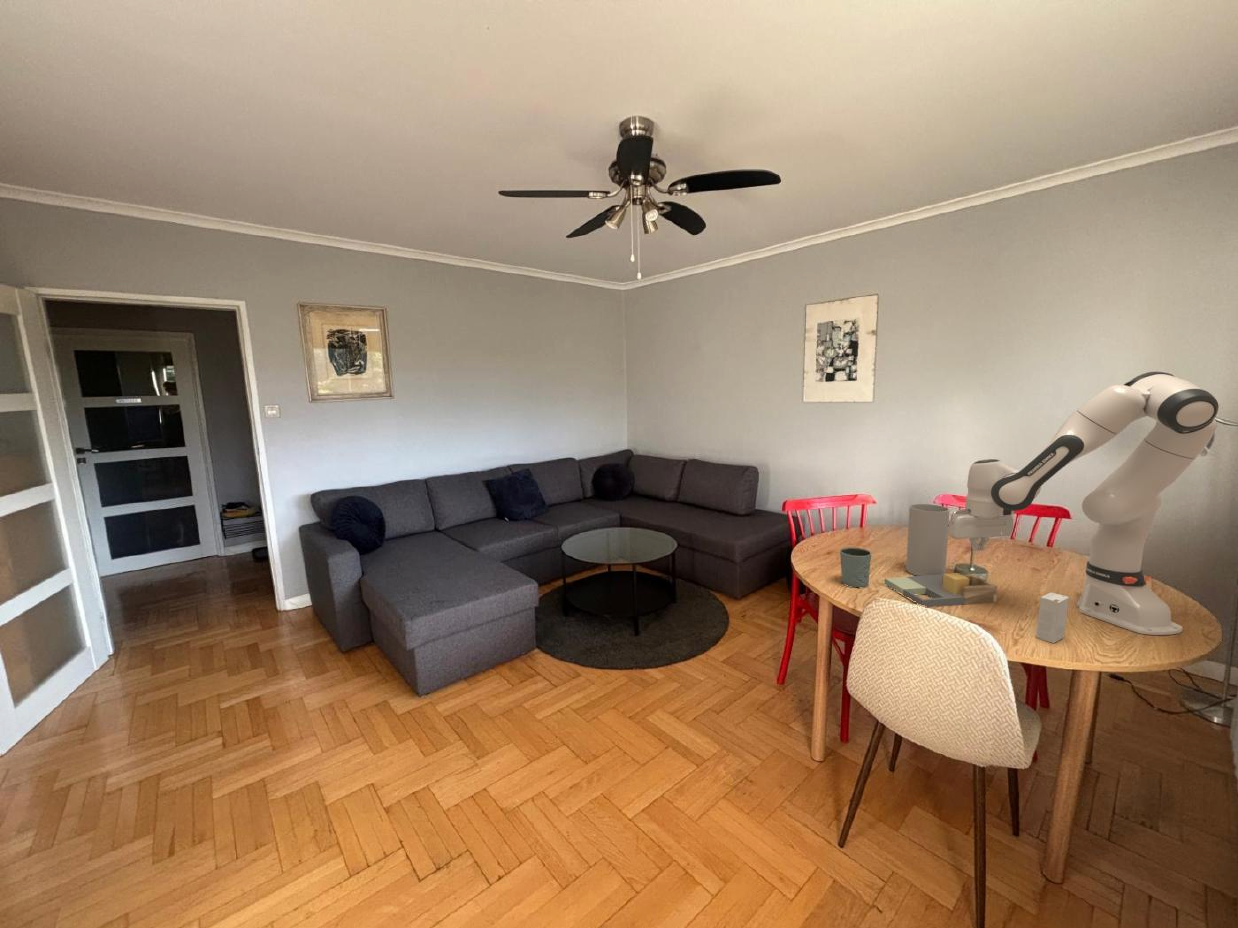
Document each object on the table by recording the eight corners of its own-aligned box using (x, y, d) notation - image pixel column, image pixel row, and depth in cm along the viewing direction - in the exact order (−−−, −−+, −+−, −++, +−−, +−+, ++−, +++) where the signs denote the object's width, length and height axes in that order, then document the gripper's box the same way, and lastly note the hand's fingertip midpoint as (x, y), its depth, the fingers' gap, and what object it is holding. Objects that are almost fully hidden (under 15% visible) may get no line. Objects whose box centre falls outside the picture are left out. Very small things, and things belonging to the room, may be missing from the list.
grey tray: (996, 601, 159) (996, 594, 159) (921, 607, 157) (922, 600, 156) (951, 579, 178) (951, 573, 177) (884, 584, 175) (884, 578, 175)
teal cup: (873, 589, 172) (875, 556, 170) (842, 588, 174) (843, 555, 172) (865, 578, 181) (866, 547, 180) (836, 577, 183) (837, 546, 182)
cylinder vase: (906, 565, 194) (909, 502, 190) (944, 569, 188) (948, 505, 184) (906, 575, 183) (909, 510, 179) (946, 581, 177) (950, 513, 173)
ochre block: (968, 593, 161) (969, 578, 160) (954, 594, 160) (955, 579, 160) (956, 587, 166) (957, 572, 165) (942, 588, 165) (943, 573, 164)
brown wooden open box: (996, 601, 159) (997, 586, 158) (964, 604, 158) (965, 588, 157) (970, 589, 169) (971, 574, 169) (940, 591, 168) (941, 576, 168)
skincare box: (1045, 631, 139) (1049, 591, 138) (1065, 638, 135) (1070, 596, 134) (1034, 637, 136) (1038, 596, 135) (1055, 644, 133) (1059, 601, 131)
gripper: (959, 512, 155) (955, 554, 158) (1019, 509, 157) (1014, 551, 160) (944, 508, 162) (941, 548, 164) (1002, 505, 164) (998, 545, 166)
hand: (978, 549), depth 162 cm, fingers closed
